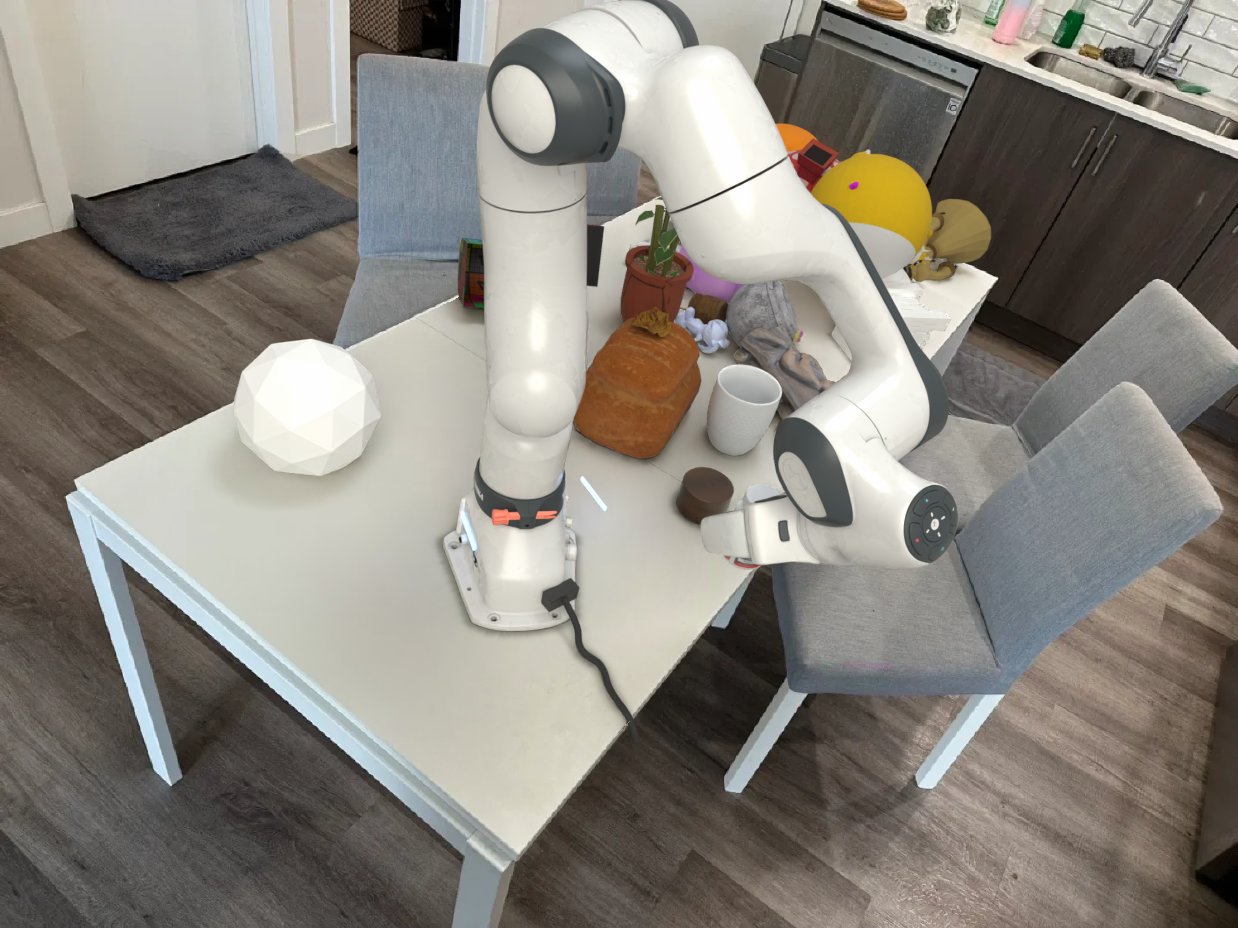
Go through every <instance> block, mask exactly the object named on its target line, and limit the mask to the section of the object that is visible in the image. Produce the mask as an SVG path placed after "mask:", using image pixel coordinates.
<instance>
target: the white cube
mask: <svg viewBox="0 0 1238 928" xmlns="http://www.w3.org/2000/svg"><path fill="white" fill-rule="evenodd" d="M883 283H884V284H885V286H886V288H887V290H888V292H889V294H890V296H891V297H892V299H893V301H894V303H895V305H896V307H897V309H898V310H899V312H900V314H901V316H902V318H903V320H904V322H905V323H906V325H907V327H908V329H909V331H910V333H911V334H912V336H913V338H914V339H915V341H916V343H917V344H918V346H919V347H920V348H921V347H925V345H926V344H927V342H926V340H928V339H929V338H930V334H929V332H933V331H935V332H946V331H947V329H948V325H950V324H951V322H952V317H951V316H949V315H948V313H947V312H946V311H939V310H938V311H935V310H929V309H928V308H925V307H926V306H925V304H924V303H921V297H922V296H923V294H924V293H925V289H924V288H923V287H921V285H920V284H919V282H912V283H904V282H886V281H883ZM831 337H832V338H833V340H834V341H835V343H836V344H837V345H838V346H839V348H840V349H841V350H842V351H843V353H844V354H845V355H846V357H847V358H848V359H849V361H850V362H851V363H852V354H851V351H850V349H849V347H848V346H847V344H846V342H845V340H844V339H843V337H842V335H841V333H840V332H839V330H838V328H837V326H836V325H835V326H834V328H833V330H832V333H831ZM921 350H922V351H923V348H921Z"/></svg>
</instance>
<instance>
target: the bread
mask: <svg viewBox="0 0 1238 928" xmlns="http://www.w3.org/2000/svg"><path fill="white" fill-rule="evenodd" d="M633 319H634V317H633V318H630V319H628V320H627V321H625V322H623V323H622V324H621V325H620V326H619V327H618V328H617V329H616V330H614V331H613V332H612V333H611V334H610V335H609V337H608V339H607V340H606V342H605V343H604V345H603V346H602V347H601V348H600V349H599V351H597V352H596V354H595V355H594V357H593V359H592V363H591V364H590V366H589V367H588V368H587V369H586V383H585V389H584V393H583V396H582V399H581V402H580V404H579V407H578V409H577V412H576V414H575V416H574V418H573V423H574V425H575V428H576V430H578V432H579V433H580V434H582V435H583V436H585V437H586V438H587V439H589V440H591V441H592V442H594V443H596V444H598V445H599V446H602V447H605V448H608V449H610V450H612V451H615V452H616V453H618V454H621V455H626V456H629V457H632V458H635V459H645V460H646V459H650V458H652V457H656V456H658V455H659V454H660V453H661V452H662V451H663V450H664V448H665V447H666V445H667V444H668V442H669V440H670V439H671V438H672V436H673V434H674V433H675V432H676V430H678V427H679V426H680V424H681V422H682V421H683V420H682V419H684V417H685V415H686V414H687V413H688V411H689V410H690V408H691V406H692V405H693V403H694V401H695V399H696V397H697V395H698V393H699V392H700V388H701V385H702V375H701V369H700V366H699V363H698V360H699V358H700V356H701V354H700V349H699V347H698V343H697V342H698V341H695V340H694V338H695V337H693V335H691V333H690V331H689V330H688V329H686V328H685V329H684V328H682V327H681V326H679V325H677V324H676V323H675V322H674V323H673V322H672V325H671V333H669V334H667V335H665V336H664V337H662V336H661V337H660V336H659V334H657V333H655V334H653V332H649V330H648V329H645V328H640V327H639V326H635V325H632V324H631V322H632V321H633ZM669 322H671V321H669ZM688 331H689V332H688ZM689 333H690V334H689Z"/></svg>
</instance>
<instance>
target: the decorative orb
mask: <svg viewBox="0 0 1238 928" xmlns="http://www.w3.org/2000/svg"><path fill="white" fill-rule="evenodd" d="M796 317H797V316H796V313H795V309H794V306H793V303H792V301H791V298H790V296H789V294H788V291H787V289H786V287H785V285H784V284H783V283H780V282H779V281H775V282H767V283H758V284H745V285H743V286H742V287H741V288H739V289H738V290H737V291H736V293H735V294H734V295H733V297H732V298H731V300H730V302H728V308H727V313H726V321H725V322H726V325H727V327H728V334H729V336H730V337H731V339H732V340H733V342H735V344H736V345H737V346H739V347H740V348H741V347H742V346H741V345H740V343H741V341H742V340H743V339H744V338H745V337H746V336H747V335H748V334H749V333H750V332H751V331H753V330H755V329H757V328H763V329H765V330H772V329H774V328H776V327H779V328H780V329H781V330H782V331H783V332H787V333H788V334H789V336H790V338H791V341H792V343H793V341H794V337H795V334H796V333H797V332H798V330H799V327H798V323H797V322H798V321H797V318H796Z"/></svg>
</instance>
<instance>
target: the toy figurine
mask: <svg viewBox="0 0 1238 928" xmlns="http://www.w3.org/2000/svg"><path fill="white" fill-rule="evenodd" d="M694 315H695V309H694V308H692V307H689V308H688V307H687V309H686V310H682V309H680V310H679V312H678V315H677V317H676V319H675V321H674V323H675V324H677V325H679V326H681V327H682V328H684V329H685V330H686V328H687V331H688V332H689V334H690V335H691V333H692V334H694V335H695V337H693V338H694V340H695V341H696V342H700V341H704V343H705V344H706V345H707V346H706V345H703V344H701V343H697V345H698V347H699V351H701V352H703V354H707V355H709V354H713V353H716V352H717V351H718V350H719V349H721V350H724V349H727V348H728V347H729V346H730V345H731V342H730V340H728V339H727V336H728V334H729V331H728V327H727V323H725V322H723V321H721V320H714V321H713V320H712V321H709V323H708V325H707V324H705V325H704V324H703V323H702V321H701V320H700V319H695V318H694Z"/></svg>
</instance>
